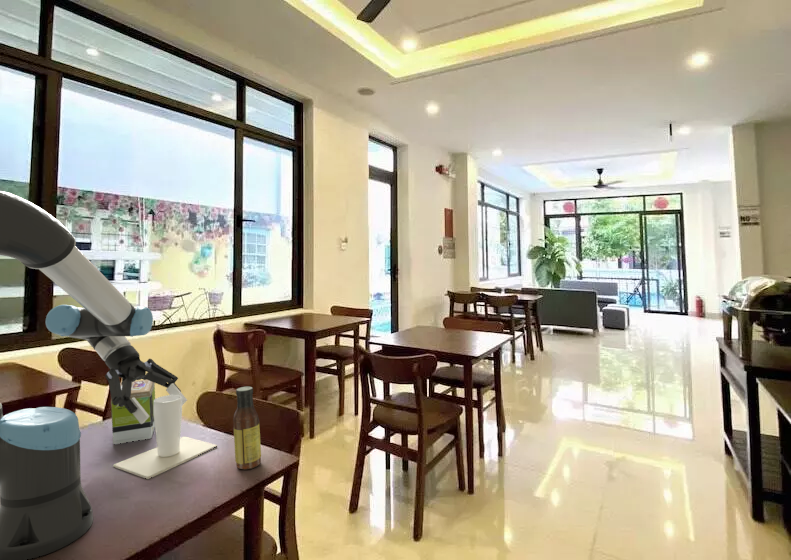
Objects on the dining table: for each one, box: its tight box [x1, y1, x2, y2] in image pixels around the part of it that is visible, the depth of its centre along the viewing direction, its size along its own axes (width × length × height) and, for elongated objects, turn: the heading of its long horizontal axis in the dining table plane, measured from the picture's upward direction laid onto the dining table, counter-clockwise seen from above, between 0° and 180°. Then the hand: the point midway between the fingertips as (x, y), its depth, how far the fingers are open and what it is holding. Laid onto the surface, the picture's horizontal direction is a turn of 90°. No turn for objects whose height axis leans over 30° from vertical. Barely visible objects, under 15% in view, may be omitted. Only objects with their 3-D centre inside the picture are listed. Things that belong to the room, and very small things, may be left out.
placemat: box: [112, 436, 218, 480], centre depth 113 cm, size 20×14×1 cm
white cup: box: [153, 394, 183, 457], centre depth 113 cm, size 7×7×15 cm
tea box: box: [110, 379, 156, 445], centre depth 129 cm, size 15×10×15 cm, turn 25°
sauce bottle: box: [232, 386, 262, 471], centre depth 107 cm, size 6×6×20 cm
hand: (165, 411), depth 113 cm, fingers open, 13 cm apart
